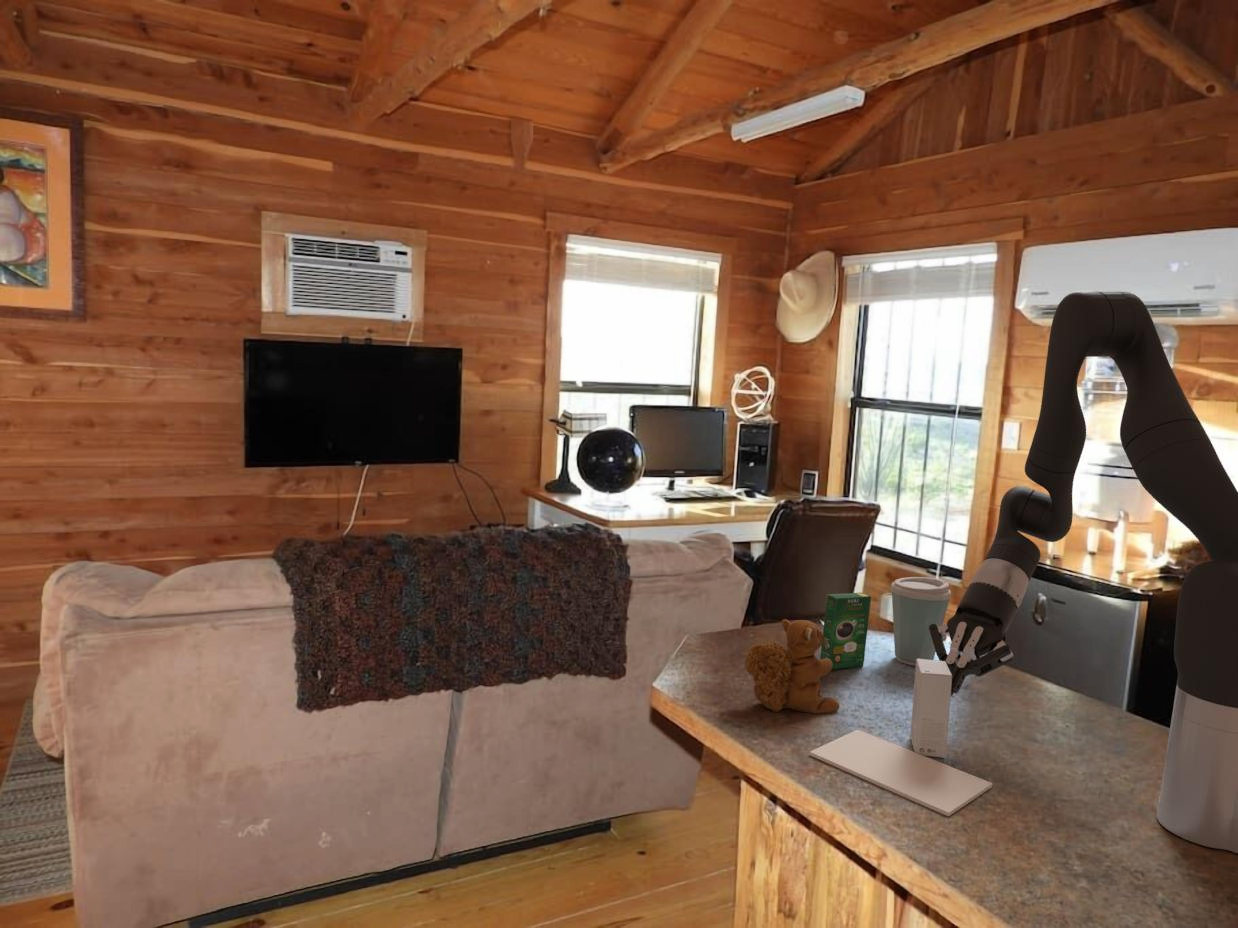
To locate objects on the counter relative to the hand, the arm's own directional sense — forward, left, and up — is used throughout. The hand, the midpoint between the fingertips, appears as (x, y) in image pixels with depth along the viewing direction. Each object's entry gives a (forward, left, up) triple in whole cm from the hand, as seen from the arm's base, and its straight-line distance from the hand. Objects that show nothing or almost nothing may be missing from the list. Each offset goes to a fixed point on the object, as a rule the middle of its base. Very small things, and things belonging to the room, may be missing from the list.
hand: (945, 691), depth 129 cm
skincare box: (0, +4, -8) cm, 8 cm away
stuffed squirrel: (+21, +7, -8) cm, 24 cm away
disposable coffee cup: (+20, -29, -8) cm, 36 cm away
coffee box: (+26, -15, -8) cm, 31 cm away
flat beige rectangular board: (-1, +14, -7) cm, 16 cm away
